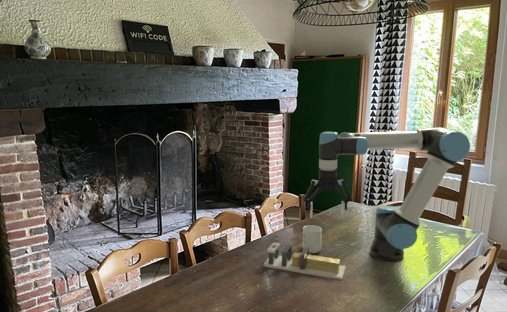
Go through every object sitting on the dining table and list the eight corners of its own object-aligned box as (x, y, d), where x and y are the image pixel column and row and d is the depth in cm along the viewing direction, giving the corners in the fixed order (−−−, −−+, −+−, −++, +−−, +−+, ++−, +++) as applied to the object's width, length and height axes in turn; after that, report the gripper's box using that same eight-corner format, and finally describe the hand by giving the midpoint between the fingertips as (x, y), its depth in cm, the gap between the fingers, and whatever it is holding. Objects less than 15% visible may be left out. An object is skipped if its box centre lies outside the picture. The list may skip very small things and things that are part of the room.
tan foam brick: (339, 268, 167) (340, 258, 166) (338, 273, 163) (338, 263, 162) (294, 261, 174) (294, 251, 173) (291, 265, 170) (292, 255, 169)
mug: (324, 252, 186) (325, 230, 184) (308, 255, 182) (309, 233, 180) (311, 243, 197) (311, 222, 195) (295, 246, 193) (296, 224, 191)
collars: (308, 261, 174) (309, 247, 173) (304, 269, 166) (304, 255, 165) (273, 255, 180) (273, 242, 179) (267, 263, 172) (267, 249, 171)
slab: (345, 268, 170) (345, 266, 169) (341, 280, 160) (342, 277, 159) (271, 256, 182) (271, 254, 181) (263, 266, 171) (263, 264, 171)
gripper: (355, 166, 168) (354, 213, 171) (297, 167, 168) (297, 214, 172) (360, 170, 160) (358, 219, 164) (299, 171, 161) (298, 220, 164)
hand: (327, 217), depth 168 cm, fingers open, 13 cm apart
